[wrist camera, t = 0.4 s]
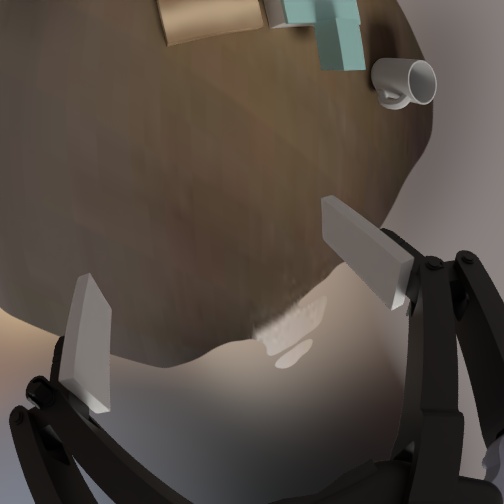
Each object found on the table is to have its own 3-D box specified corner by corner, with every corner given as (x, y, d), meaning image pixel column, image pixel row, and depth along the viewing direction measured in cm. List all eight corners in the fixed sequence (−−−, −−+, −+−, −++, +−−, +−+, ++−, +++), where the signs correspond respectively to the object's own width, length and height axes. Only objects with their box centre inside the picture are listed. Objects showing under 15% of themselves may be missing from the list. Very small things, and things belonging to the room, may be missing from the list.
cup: (404, 75, 40) (441, 82, 33) (381, 115, 43) (417, 126, 36) (381, 49, 36) (419, 51, 29) (355, 90, 39) (393, 97, 32)
